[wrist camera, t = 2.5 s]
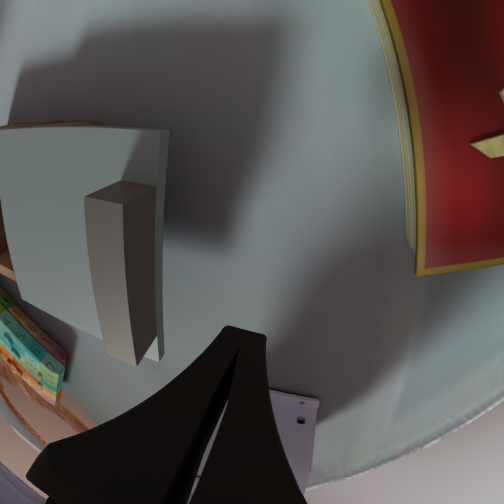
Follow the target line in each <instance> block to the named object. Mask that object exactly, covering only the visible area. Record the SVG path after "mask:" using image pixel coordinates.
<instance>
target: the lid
mask: <svg viewBox="0 0 504 504" xmlns="http://www.w3.org/2000/svg"><path fill="white" fill-rule="evenodd" d="M169 139H170V130H162V129H150V128H136V127H119V126H88V125H61V126H31V127H15V128H5V129H0V200H1V207H2V214H3V221H4V227H5V233H6V238H7V243H8V248H9V252H10V257H11V261H12V265H13V269H14V273H15V277H16V281H17V284H18V288H19V291H20V294H21V298H22V299H23V300H25V301H27V302H28V303H30V304H32V305H34V306H35V307H37V308H39V309H41V310H43V311H45V312H46V313H48V314H50V315H52V316H54V317H56V318H58V319H60V320H62V321H64V322H66V323H68V324H70V325H72V326H74V327H76V328H78V329H80V330H82V331H84V332H87V333H89V334H91V335H93V336H95V337H98V338H100V339H102V340H103V342H104V347H105V351H106V354H108V355H110V356H112V357H115V358H117V359H119V360H122V361H124V362H127V363H129V364H131V365H134V366H136V367H137V366H138V364H139V363H140V361H141V359H142V358H143V357H146V358H149V359H151V360H154V361H157V362H160V360H161V358H162V357H163V355H164V333H163V298H162V257H163V221H164V201H165V185H166V171H167V159H168V149H169Z"/></svg>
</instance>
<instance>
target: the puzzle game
mask: <svg viewBox="0 0 504 504" xmlns="http://www.w3.org/2000/svg"><path fill="white" fill-rule="evenodd" d="M0 355H1V356H2V357H3V358H4V360H5V361H6V362H7V364H8V365H9V366H10V367H11V368H12V371H13V372H14V373H15V374H16V375H17V374H18V375H19V376H20V377H22V378H23V379H24V380H25V381H26V382H27V383H28V384H29V385H30V386H31V387H32V388H33V389H34V390H35V391H36V392H38V393H39V394H40V395H41V396H42V397H43V398H44V399H45V400H47V401H48V402H49V403H50V404H52V405H55V406H56V405H57V404H58V402H59V401H60V397H61V390H62V384H63V377H64V372H65V363H66V358H67V353H66V352H65V351H64V350H63V349H62V348H61V347H60V346H58V345H57V344H56V343H55V342H54V341H53V340H52V339H51V338H50V337H49V336H47V335H46V334H45V333H44V332H43V331H42V330H41V329H40V328H39V327H38V326H37V325H36V324H35V323H34V322H33V321H32V320H31V319H30V318H29V317H28V316H27V315H26V314H25V313H24V312H23V311H22V310H21V309H20V308H19V307H18V306H17V305H16V304H15V302H14V301H13V300H12V299H11V298H10V297H9V296H8V295H7V294H6V292H5V291H4V290H3V289H2V288H1V287H0Z"/></svg>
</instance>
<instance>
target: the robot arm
mask: <svg viewBox="0 0 504 504" xmlns="http://www.w3.org/2000/svg"><path fill="white" fill-rule="evenodd" d="M266 340H267V338H266V336H265V335H264V334H260V333H256V332H252V331H248V330H244V329H240V328H236V327H232V326H229V325H227V326H225V327H224V328H223V329H222V331H221V332H220V333H219V335H218V336H217V337H216V338H215V339H214V341H213V342H212V343H211V344H210V345H209V346H208V347H207V348H206V349H205V351H204V352H203V353H202V354H201V355H200V356H199V357H198V358H197V359H195V360H194V361H193V362H192V363H191V364H190V365H189V366H188V367H187V368H186V369H185V370H184V371H183V372H181V373H180V374H179V375H178V376H177V377H176V378H174V379H173V380H172V381H171V382H170V383H168V384H167V385H166V386H164V387H163V388H162V389H161V390H159V391H158V392H156V393H155V394H154V395H152V396H151V397H149V398H148V399H146V400H145V401H143V402H142V403H140V404H138V405H137V406H135V407H133V408H132V409H130V410H128V411H127V412H125V413H123V414H121V415H120V416H118V417H116V418H114V419H112V420H110V421H107V422H105V423H103V424H101V425H99V426H97V427H94V428H92V429H90V430H87V431H85V432H82V433H80V434H77V435H74V436H71V437H68V438H65V439H62V440H59V441H56V442H52V443H49V444H48V445H47V446H46V448H45V449H44V450H43V451H42V452H41V453H40V454H39V455H38V457H37V458H36V460H35V462H34V463H33V465H32V466H31V468H30V469H29V471H28V472H27V474H26V478H27V480H29V481H30V482H31V483H32V484H33V485H35V486H36V487H37V488H39V489H40V490H41V491H43V492H44V493H45V494H47V495H48V496H49V497H48V499H46V498H44V497H43V496H41V495H40V494H39V493H37V492H36V491H35V490H33V489H32V488H31V487H29V486H28V485H27V484H26V483H24V482H23V481H22V480H21V479H20V478H18V477H17V476H16V475H15V474H14V473H12V472H11V471H10V470H9V469H8V468H7V467H6V466H5V465H3V464H2V463H1V462H0V504H307V502H306V500H305V498H304V496H303V494H304V492H305V490H306V487H307V484H308V480H309V476H310V472H311V466H312V458H313V448H314V437H315V426H316V413H317V409H318V407H319V404H320V402H319V400H318V399H314V398H309V397H303V396H298V395H293V394H288V393H283V392H279V391H274V390H270V389H269V386H268V379H267V370H266Z"/></svg>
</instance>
